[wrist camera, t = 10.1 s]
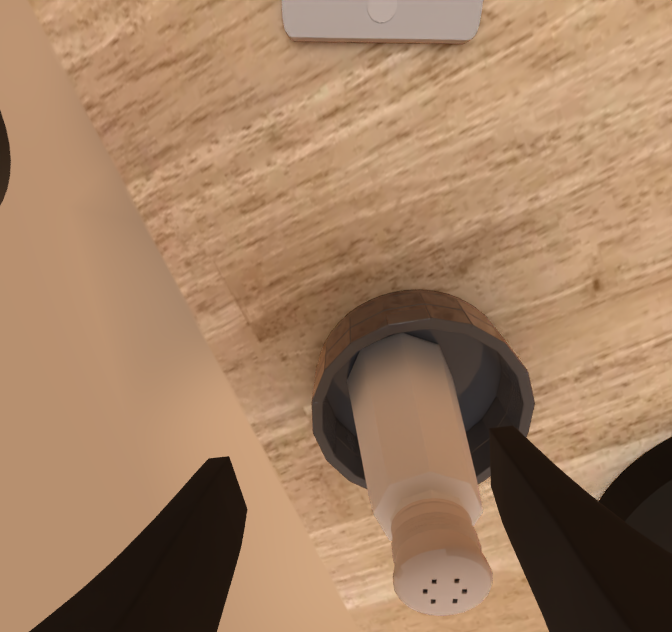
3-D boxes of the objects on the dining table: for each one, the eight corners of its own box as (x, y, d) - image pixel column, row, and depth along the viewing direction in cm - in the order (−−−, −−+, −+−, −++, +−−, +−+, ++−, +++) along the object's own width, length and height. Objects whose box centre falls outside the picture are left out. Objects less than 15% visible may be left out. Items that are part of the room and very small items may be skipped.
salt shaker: (455, 328, 20) (560, 520, 10) (448, 418, 23) (530, 648, 13) (344, 332, 21) (343, 524, 11) (348, 420, 23) (350, 648, 13)
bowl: (353, 469, 25) (354, 518, 22) (287, 325, 21) (276, 360, 18) (522, 424, 23) (550, 471, 20) (483, 259, 20) (509, 285, 16)
